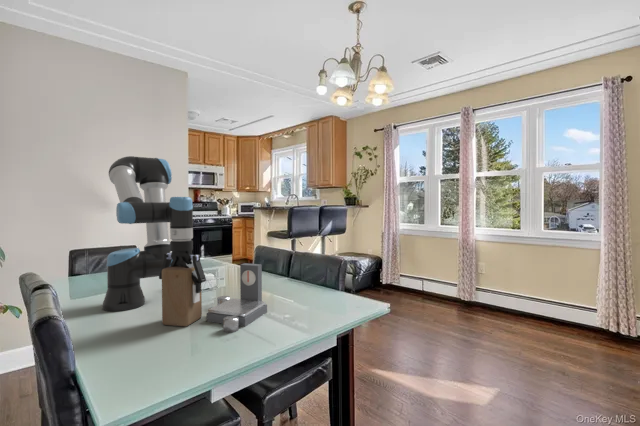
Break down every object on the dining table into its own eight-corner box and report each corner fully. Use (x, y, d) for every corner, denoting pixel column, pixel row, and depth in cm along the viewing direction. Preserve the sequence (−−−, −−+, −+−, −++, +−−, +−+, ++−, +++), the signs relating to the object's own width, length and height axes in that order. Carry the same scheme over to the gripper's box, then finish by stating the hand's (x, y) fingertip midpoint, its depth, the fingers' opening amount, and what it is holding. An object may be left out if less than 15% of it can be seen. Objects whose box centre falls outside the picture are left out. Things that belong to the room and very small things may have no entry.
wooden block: (186, 327, 113) (186, 269, 112) (161, 325, 115) (160, 268, 114) (202, 317, 122) (202, 264, 122) (178, 316, 124) (178, 263, 124)
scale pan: (208, 319, 119) (208, 309, 119) (232, 307, 133) (232, 298, 133) (244, 324, 114) (244, 314, 114) (265, 311, 128) (265, 301, 128)
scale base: (206, 321, 119) (206, 271, 118) (236, 305, 137) (235, 262, 136) (245, 326, 114) (244, 274, 113) (270, 309, 132) (270, 265, 131)
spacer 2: (220, 331, 109) (220, 319, 109) (229, 326, 114) (229, 315, 114) (233, 333, 108) (233, 321, 108) (241, 328, 112) (241, 316, 112)
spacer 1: (214, 308, 134) (214, 298, 134) (222, 304, 138) (222, 295, 138) (225, 309, 132) (225, 299, 132) (232, 305, 137) (232, 296, 137)
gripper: (147, 239, 118) (148, 300, 119) (202, 242, 110) (203, 306, 111) (163, 237, 125) (164, 294, 126) (216, 239, 117) (216, 300, 118)
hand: (182, 300), depth 118 cm, fingers open, 11 cm apart
